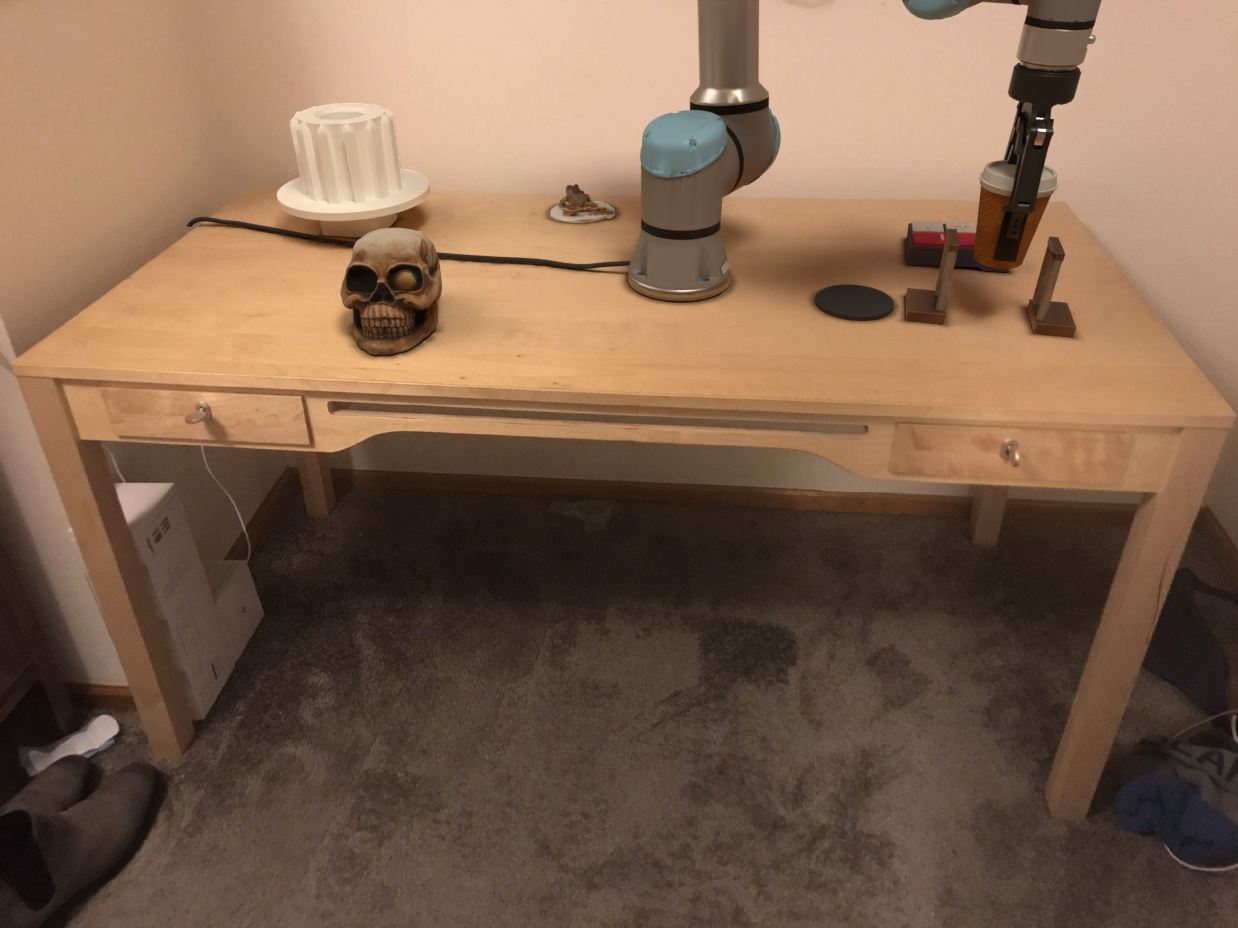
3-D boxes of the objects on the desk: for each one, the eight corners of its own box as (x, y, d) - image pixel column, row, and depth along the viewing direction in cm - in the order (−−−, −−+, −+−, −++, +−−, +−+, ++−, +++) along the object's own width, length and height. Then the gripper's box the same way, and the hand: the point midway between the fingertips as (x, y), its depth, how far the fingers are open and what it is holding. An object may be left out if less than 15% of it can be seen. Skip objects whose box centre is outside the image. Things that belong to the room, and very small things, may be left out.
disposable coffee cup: (962, 270, 118) (984, 178, 111) (958, 243, 126) (978, 156, 119) (1039, 277, 116) (1066, 185, 109) (1030, 250, 124) (1055, 162, 117)
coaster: (812, 316, 126) (812, 312, 125) (817, 285, 135) (818, 281, 134) (893, 324, 124) (894, 320, 123) (893, 292, 132) (894, 288, 132)
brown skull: (375, 360, 115) (355, 257, 109) (325, 326, 128) (305, 232, 121) (481, 330, 123) (469, 233, 117) (425, 301, 136) (411, 212, 129)
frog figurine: (538, 207, 164) (536, 186, 161) (598, 198, 168) (597, 177, 165) (561, 227, 155) (560, 205, 153) (624, 217, 159) (624, 195, 157)
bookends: (906, 320, 124) (920, 244, 118) (905, 297, 131) (919, 223, 124) (1073, 337, 120) (1097, 259, 114) (1064, 312, 126) (1087, 237, 120)
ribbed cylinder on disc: (404, 258, 144) (386, 137, 133) (258, 250, 147) (229, 130, 136) (452, 206, 164) (440, 97, 153) (323, 200, 168) (302, 92, 157)
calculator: (908, 218, 147) (1006, 220, 144) (905, 243, 150) (1001, 246, 146) (910, 242, 138) (1014, 245, 135) (907, 268, 141) (1009, 272, 138)
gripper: (1098, 86, 98) (1040, 281, 111) (1068, 49, 114) (1022, 222, 127) (1025, 82, 99) (976, 275, 112) (1006, 46, 116) (966, 217, 129)
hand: (1000, 247), depth 120 cm, fingers closed on disposable coffee cup, 8 cm apart
